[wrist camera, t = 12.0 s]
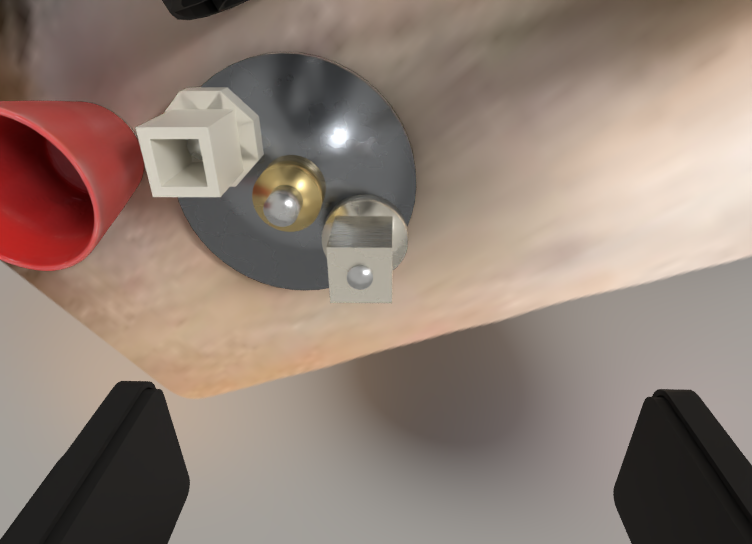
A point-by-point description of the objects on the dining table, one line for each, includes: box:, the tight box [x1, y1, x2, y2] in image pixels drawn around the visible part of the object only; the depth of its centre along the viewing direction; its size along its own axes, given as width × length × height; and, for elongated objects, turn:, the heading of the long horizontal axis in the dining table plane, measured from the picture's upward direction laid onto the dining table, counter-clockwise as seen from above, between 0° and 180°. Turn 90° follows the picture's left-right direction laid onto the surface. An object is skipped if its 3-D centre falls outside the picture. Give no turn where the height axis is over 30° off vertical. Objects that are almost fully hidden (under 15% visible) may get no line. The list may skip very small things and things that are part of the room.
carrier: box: [178, 52, 416, 303], centre depth 35 cm, size 19×19×8 cm
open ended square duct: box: [135, 87, 264, 197], centre depth 33 cm, size 7×7×7 cm
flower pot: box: [0, 101, 144, 271], centre depth 34 cm, size 11×11×10 cm
